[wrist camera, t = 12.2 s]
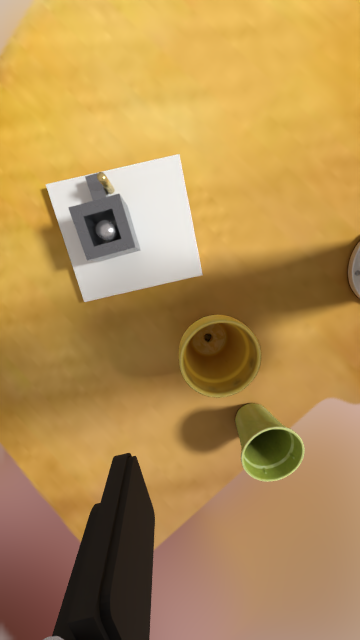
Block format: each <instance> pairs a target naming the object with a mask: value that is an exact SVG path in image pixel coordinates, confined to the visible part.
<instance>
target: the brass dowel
mask: <svg viewBox="0 0 360 640" xmlns="http://www.w3.org/2000/svg"><path fill="white" fill-rule="evenodd" d="M97 179H98V180H99V182H100V183H101V184H102V185H103V187H104V188H105V189H106V190H107V192H108V193H110V194H113V193H114V191H115V189H114V187H113V185H112V184H111V183H110V181H109V180H108V178H107V177H106V175H105V174H104V173H103V172H99V173H98V174H97Z"/></svg>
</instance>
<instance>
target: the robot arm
mask: <svg viewBox="0 0 360 640" xmlns="http://www.w3.org/2000/svg"><path fill="white" fill-rule="evenodd" d="M348 279H349V284H350V286H351V289H352V290H353V292H354V293H355V295H356V296H357V297H359V298H360V241H359V243H358V244H357V245H356V247H355V249H354V251H353V252H352V255H351V258H350V261H349V266H348ZM154 527H155V515H154V509H153V506H152V503H151V500H150V497H149V494H148V491H147V488H146V485H145V482H144V478H143V475H142V472H141V469H140V466H139V463H138V460H137V457H136V456H133V457H132V456H131V454H130V453H126V454H122V455H118V456H114V458H113V460H112V464H111V467H110V471H109V475H108V478H107V482H106V485H105V489H104V492H103V496H102V500H101V503H97V504H95V505H94V506H93V508H92V510H91V512H90V515H89V519H88V522H87V525H86V528H85V531H84V535H83V538H82V541H81V544H80V548H79V551H78V554H77V557H76V560H75V564H74V567H73V570H72V573H71V577H70V580H69V583H68V586H67V590H66V593H65V596H64V599H63V602H62V606H61V609H60V612H59V615H58V619H57V622H56V625H55V629H54V631H53V635H52V637H47V638H45V639H44V640H149V633H150V611H151V590H152V568H153V548H154Z"/></svg>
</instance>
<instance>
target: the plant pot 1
mask: <svg viewBox="0 0 360 640" xmlns="http://www.w3.org/2000/svg"><path fill="white" fill-rule="evenodd" d="M206 334H211V336H212V337H211V339H210V340H209V341H206V340H205V339H204V336H205V335H206ZM178 356H179V366H180V371H181V374H182V376H183V378H184V380H185V381H186V383H187V384H188V385H189V386H190V387H191V388H192V389H194V390H195V391H196V392H198V393H200V394H202V395H205V396H208V397H216V398H220V397H227V396H231V395H234V394H236V393H238V392H240V391H242V390H243V389H245V388H246V387H247V386H248V385H249V384H250V383H251V382H252V381H253V379H254V378H255V376H256V375H257V373H258V370H259V367H260V363H261V349H260V345H259V342H258V340H257V338H256V336H255V335H254V333H253V332H252V331H251V330H250V329H249V328H248V327H247V326H246V325H244V324H243V323H242V322H240V321H238V320H237V319H235V318H232V317H230V316H226V315H210V316H206V317H203V318H201V319H199V320H197V321H196V322H194V323H193V324H192V325H191V326H190V327H189V328H188V329H187V330H186V331H185V333H184V334H183V336H182V339H181V341H180V345H179V355H178Z"/></svg>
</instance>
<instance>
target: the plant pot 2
mask: <svg viewBox="0 0 360 640" xmlns="http://www.w3.org/2000/svg"><path fill="white" fill-rule="evenodd" d="M235 423H236V427H237V431H238V434H239V438H240V442H241V446H242V449H241V451H242V452H241V462H242V465H243V468H244V470H245V471H246V472H247V473H248V474H249V475H250V476H251V477H253V478H255V479H257V480H260V481H276V480H280V479H283V478H285V477H287V476H289V475H290V474H292V472H294V471H295V470H296V469H297V468H298V467H299V465H300V463H301V462H302V459H303V457H304V444H303V441H302V439H301V438H300V437H299V435H298V434H297V433H295V432H294V431H293V430H291V429H289V428H287V427H285V426H283V425H282V424H281V423H280V422H279V421H278V420H277V419H276V418H275V417H274V416H273V415H272V414H271V413H270V412H269V411H268V410H267V409H266V408H264V407H263V406H262V405H259V404H254V403H250V404H246V405H244V406H243V407H241V408H240V409H239V410H238V412H237V415H236V418H235Z"/></svg>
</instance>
